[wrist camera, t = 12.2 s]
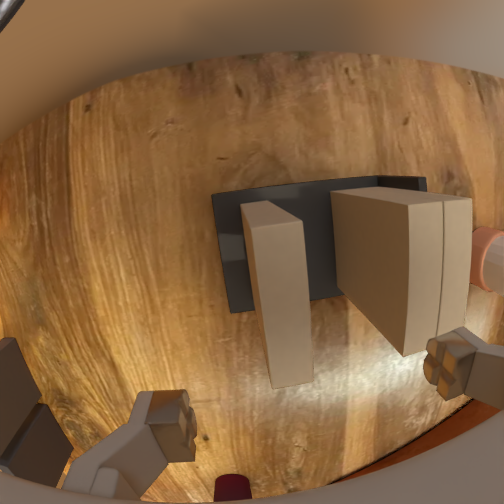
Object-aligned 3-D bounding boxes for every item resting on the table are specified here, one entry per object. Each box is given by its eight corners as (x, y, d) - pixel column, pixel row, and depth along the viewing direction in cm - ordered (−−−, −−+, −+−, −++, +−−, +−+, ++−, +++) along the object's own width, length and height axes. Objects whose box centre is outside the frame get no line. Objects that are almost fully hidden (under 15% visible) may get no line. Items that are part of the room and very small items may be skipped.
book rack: (211, 194, 27) (194, 210, 13) (379, 175, 28) (480, 180, 14) (230, 309, 30) (233, 406, 16) (384, 282, 30) (467, 345, 17)
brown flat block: (239, 204, 26) (250, 227, 14) (267, 200, 27) (302, 220, 14) (253, 302, 29) (271, 389, 16) (279, 297, 29) (314, 382, 16)
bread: (486, 423, 40) (526, 468, 25) (341, 509, 41) (361, 570, 26) (489, 382, 37) (542, 432, 22) (318, 484, 38) (341, 560, 23)
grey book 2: (35, 403, 31) (-5, 463, 19) (46, 404, 31) (7, 467, 19) (61, 446, 33) (33, 505, 21) (73, 448, 34) (46, 510, 21)
